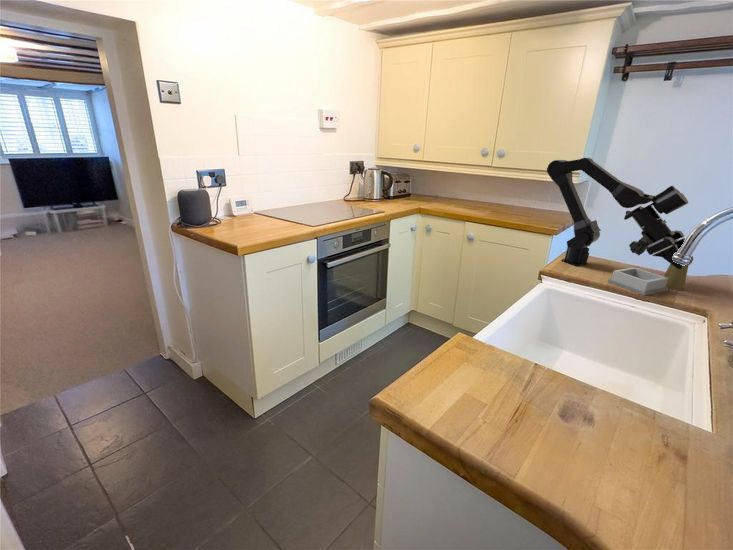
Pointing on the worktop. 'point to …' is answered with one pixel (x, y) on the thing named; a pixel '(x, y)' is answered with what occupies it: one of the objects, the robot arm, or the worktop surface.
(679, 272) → the cork
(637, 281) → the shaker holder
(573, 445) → the worktop surface
